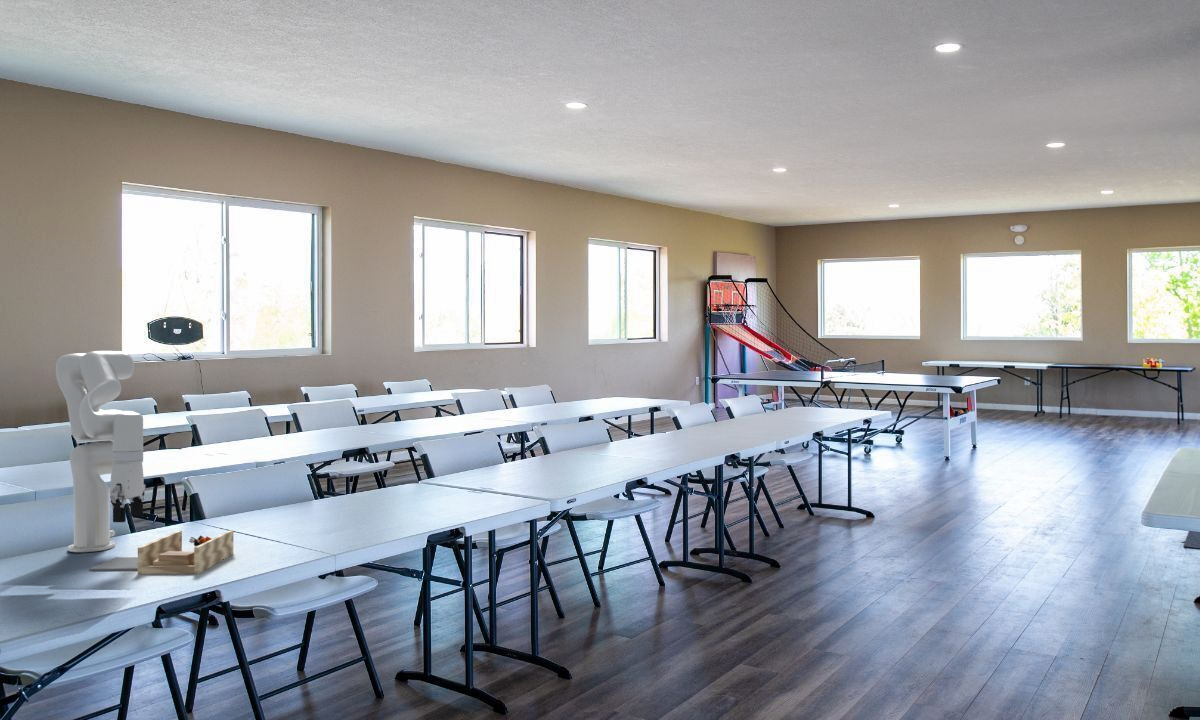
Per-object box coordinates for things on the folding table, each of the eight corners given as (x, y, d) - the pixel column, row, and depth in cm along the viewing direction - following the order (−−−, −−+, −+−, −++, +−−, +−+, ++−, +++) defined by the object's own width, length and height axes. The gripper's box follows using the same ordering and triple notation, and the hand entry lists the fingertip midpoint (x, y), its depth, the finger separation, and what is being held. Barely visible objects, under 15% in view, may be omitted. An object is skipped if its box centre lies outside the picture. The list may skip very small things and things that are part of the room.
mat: (116, 559, 258) (116, 557, 258) (165, 559, 258) (165, 557, 258) (89, 570, 244) (89, 568, 244) (141, 570, 244) (141, 568, 244)
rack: (178, 554, 264) (178, 530, 264) (233, 554, 265) (233, 530, 265) (137, 574, 240) (137, 547, 240) (198, 573, 241) (198, 547, 241)
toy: (196, 533, 256) (198, 524, 270) (183, 551, 255) (186, 541, 269) (222, 547, 259) (222, 537, 273) (209, 565, 258) (210, 554, 272)
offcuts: (162, 567, 248) (162, 551, 248) (198, 567, 248) (198, 551, 248) (151, 572, 242) (151, 555, 242) (189, 572, 242) (189, 555, 242)
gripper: (130, 454, 260) (130, 513, 260) (97, 460, 242) (97, 524, 242) (156, 454, 260) (156, 513, 260) (125, 460, 243) (126, 524, 243)
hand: (128, 518), depth 251 cm, fingers open, 9 cm apart
